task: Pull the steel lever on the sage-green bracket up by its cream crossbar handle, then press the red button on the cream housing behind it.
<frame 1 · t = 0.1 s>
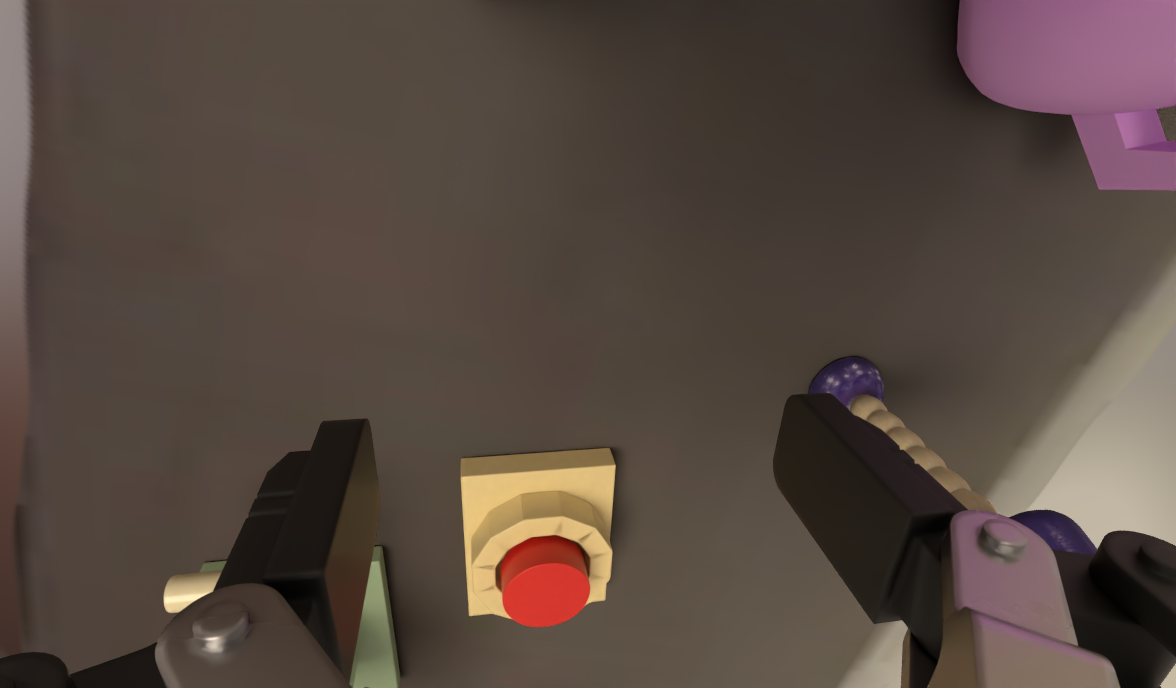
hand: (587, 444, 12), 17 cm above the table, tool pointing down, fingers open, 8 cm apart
toy lamp: (835, 385, 34), on the table
button box: (536, 523, 35), on the table
bracket: (311, 624, 35), on the table
button: (544, 580, 31), point 4 cm above the table, slide at 0.1 cm
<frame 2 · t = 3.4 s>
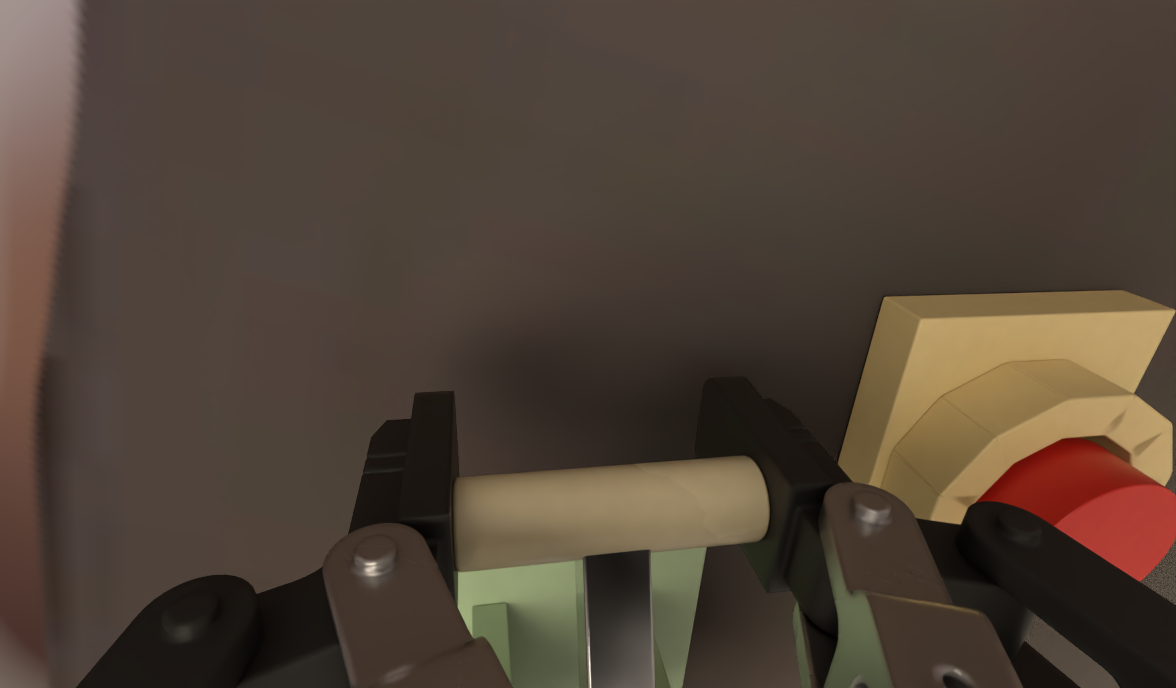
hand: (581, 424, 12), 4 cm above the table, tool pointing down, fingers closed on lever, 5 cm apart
button box: (953, 436, 20), on the table
bracket: (551, 614, 20), on the table
button: (1066, 527, 16), point 4 cm above the table, slide at 0.1 cm
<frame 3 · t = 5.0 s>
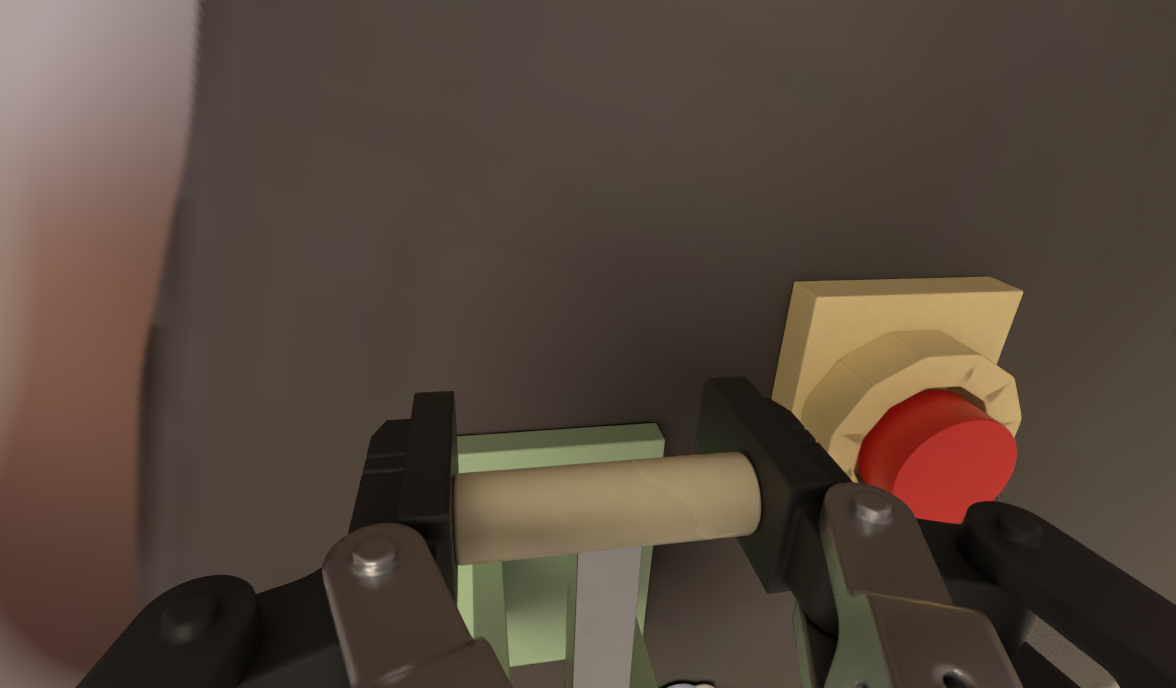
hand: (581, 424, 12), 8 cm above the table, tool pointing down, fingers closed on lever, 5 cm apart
button box: (862, 397, 24), on the table
bracket: (536, 544, 24), on the table
button: (934, 459, 20), point 4 cm above the table, slide at 0.1 cm
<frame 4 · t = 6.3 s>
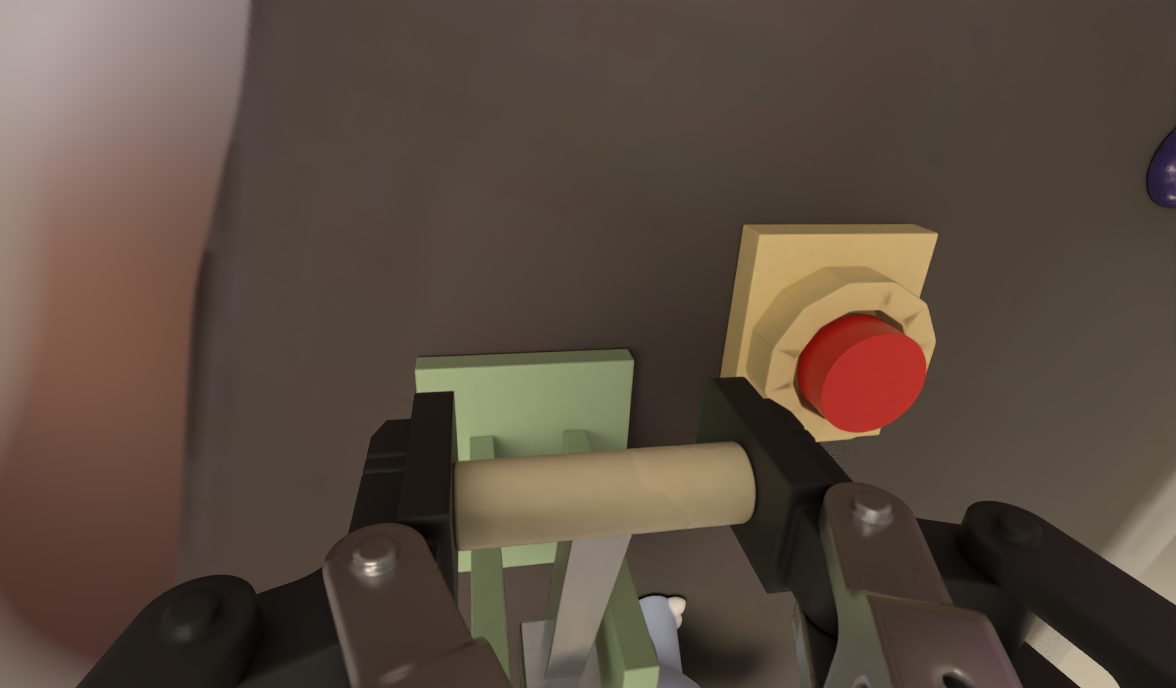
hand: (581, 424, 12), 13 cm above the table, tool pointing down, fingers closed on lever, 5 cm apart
button box: (807, 330, 28), on the table
hippopotamus toy: (627, 657, 36), on the table
lever: (573, 613, 15), point 13 cm above the table, hinge at 21.9°, touching gripper
bracket: (525, 458, 28), on the table
button: (859, 373, 24), point 4 cm above the table, slide at 0.1 cm
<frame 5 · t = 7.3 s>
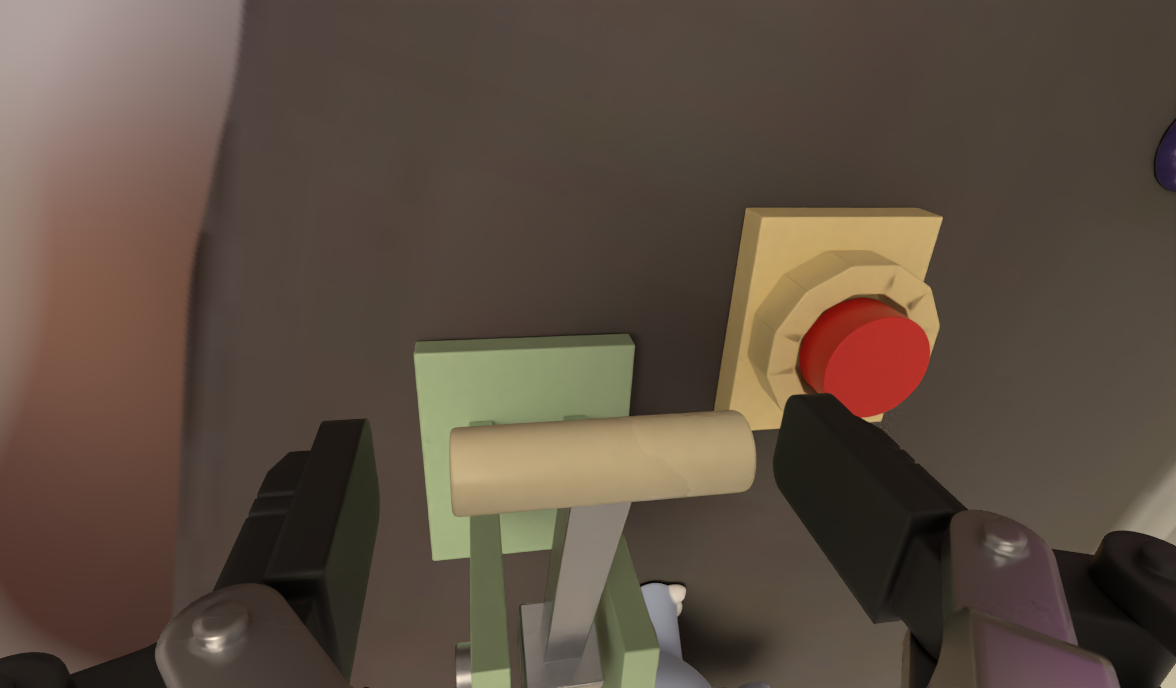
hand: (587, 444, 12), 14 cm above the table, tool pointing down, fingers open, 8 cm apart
button box: (810, 316, 28), on the table
hippopotamus toy: (627, 644, 36), on the table
lever: (572, 591, 15), point 13 cm above the table, hinge at 21.3°
bracket: (525, 444, 28), on the table
button: (862, 358, 24), point 4 cm above the table, slide at 0.1 cm
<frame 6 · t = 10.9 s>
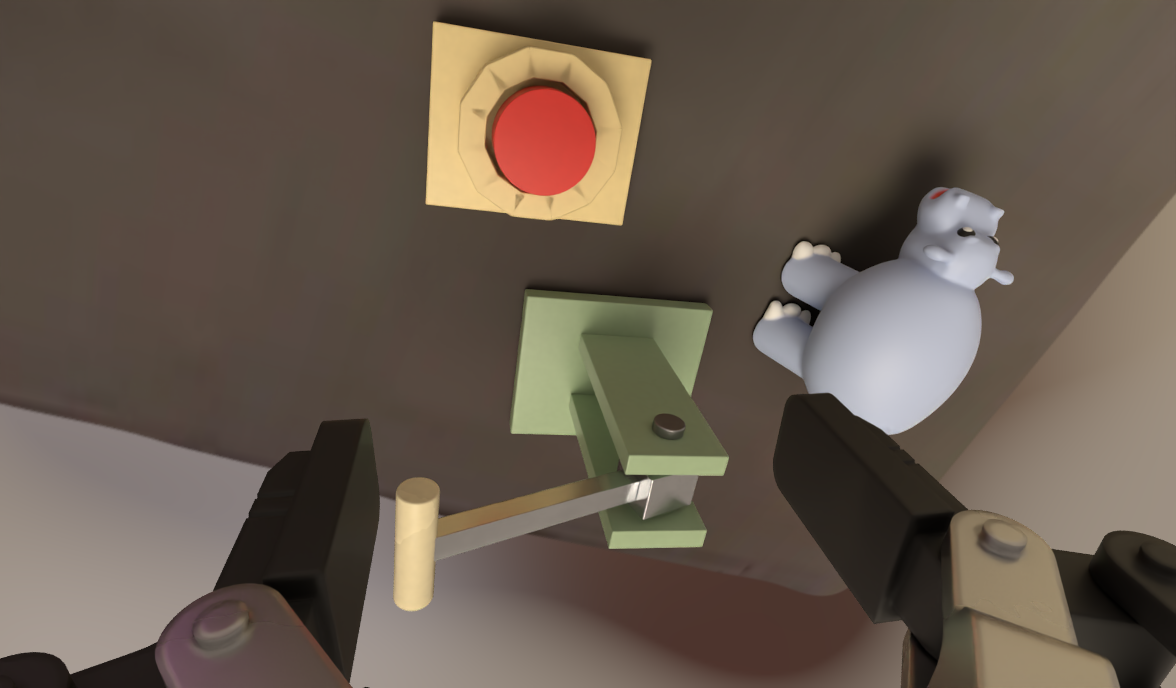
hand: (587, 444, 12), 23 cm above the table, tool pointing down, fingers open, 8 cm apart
button box: (533, 129, 30), on the table
hippopotamus toy: (850, 290, 38), on the table
lever: (557, 505, 25), point 13 cm above the table, hinge at 21.3°
bracket: (606, 363, 37), on the table
button: (542, 141, 27), point 4 cm above the table, slide at 0.1 cm
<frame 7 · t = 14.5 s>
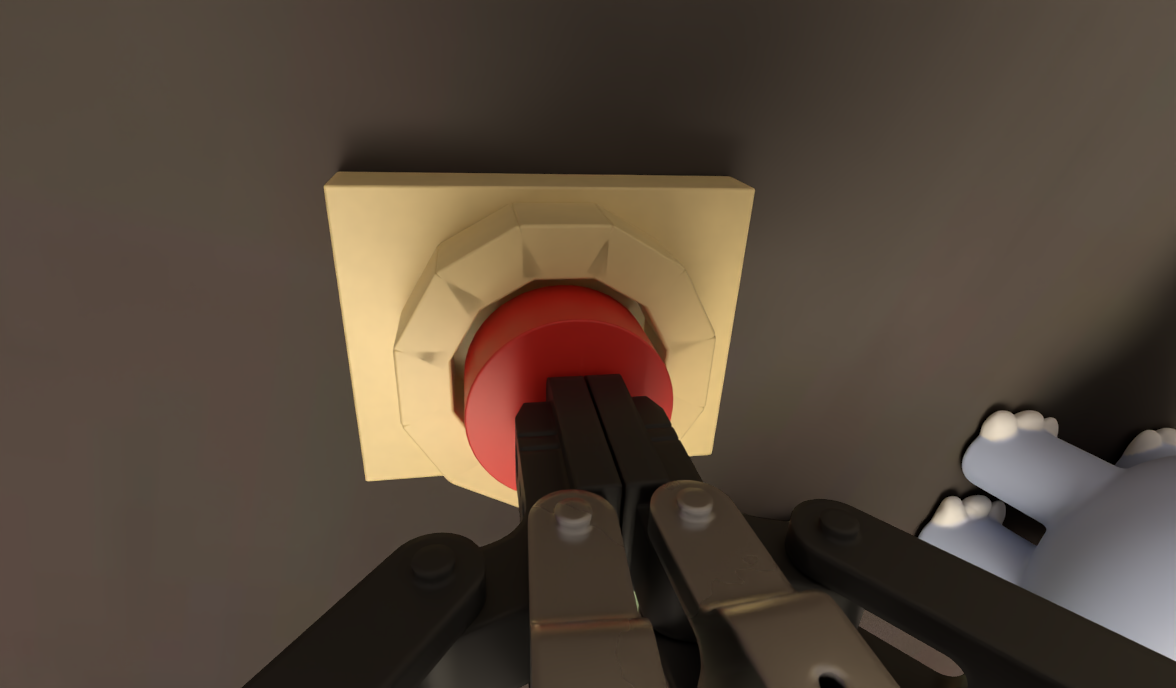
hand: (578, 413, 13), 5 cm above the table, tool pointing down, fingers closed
button box: (543, 318, 17), on the table
hippopotamus toy: (1063, 460, 24), on the table
button: (565, 392, 13), point 4 cm above the table, slide at 0.0 cm, touching gripper
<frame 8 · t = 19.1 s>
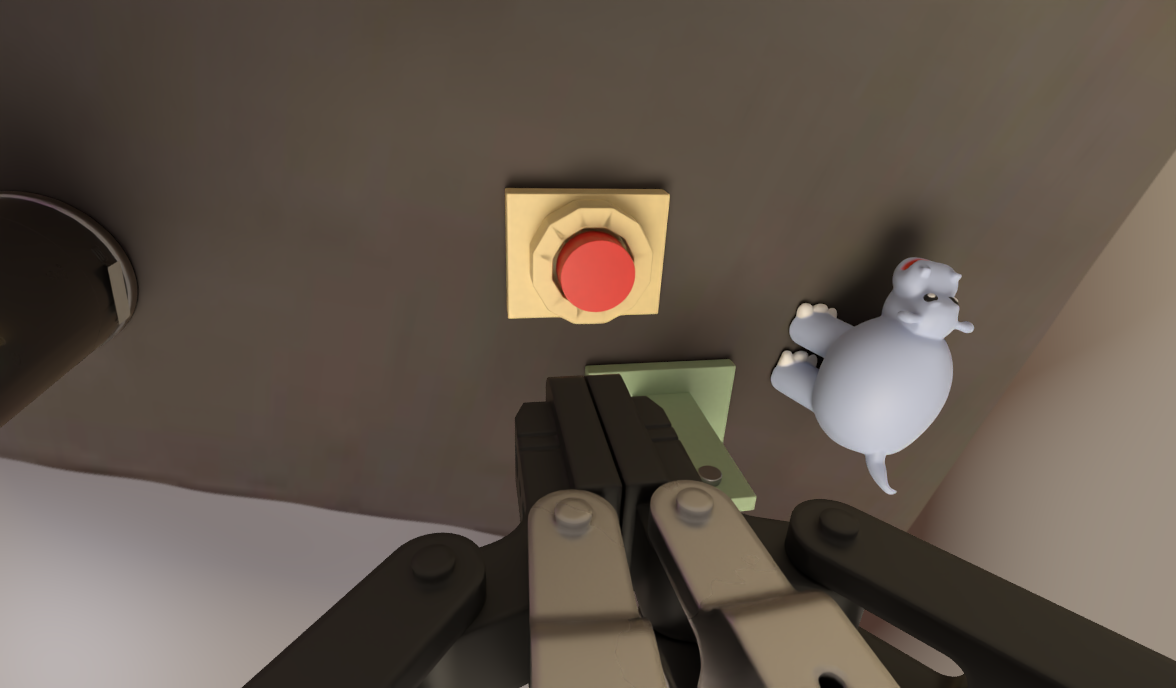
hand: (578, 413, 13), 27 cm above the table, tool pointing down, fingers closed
button box: (583, 250, 39), on the table
hippopotamus toy: (848, 334, 46), on the table
bracket: (653, 413, 46), on the table
button: (595, 271, 36), point 4 cm above the table, slide at 0.1 cm
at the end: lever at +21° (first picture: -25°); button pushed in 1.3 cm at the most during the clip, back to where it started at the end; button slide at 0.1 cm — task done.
